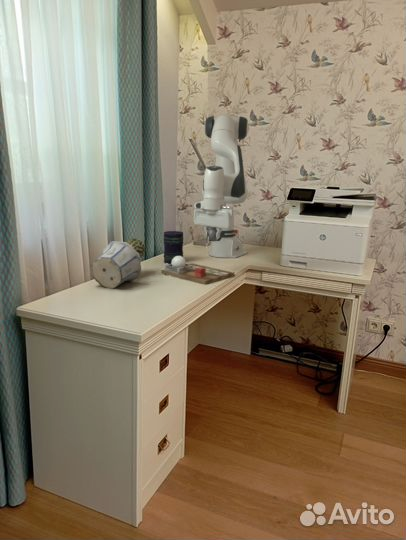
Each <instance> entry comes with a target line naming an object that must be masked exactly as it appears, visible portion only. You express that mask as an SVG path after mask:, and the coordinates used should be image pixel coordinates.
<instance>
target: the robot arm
mask: <svg viewBox="0 0 406 540" xmlns="http://www.w3.org/2000/svg"><path fill="white" fill-rule="evenodd" d="M203 128H204V129H203V130H204V133H205V136H206V137H207V138H209V139H210V145H211V147H210V148H211V149H212V151H213V152H214V153H215V164H214V165H210V166H207V167H206V168H205V171H204V178H203V180H202V188H201V197H202V199H203V200H201V201H199V202H198V201H197V202H195V203H194V205H193V207H194V210H193V223H194V225H196V226H202V227H203V229H204V231H205V237H208V238H209V229H210V228H209V227H217V228H216V229H217V233H216V234H215V238H217V241H210V248H209V251H208V253H209V256H211V257H215V258H223V259H225V258H231V259H232V258H233V259H235V258H236V259H237V258H238V257H241V256H244V255H247V254H248V251H246V250H244V245H243V242H242V241H241V240H240V239H239V238H238V237H237V236H236V234H239V230H238V229H234V225H235V224H234V223H235V215H234V210H233V208H232V207H231V206H226V204H231V205H238V204H243V203H245V201H246V200H247V198H248V194H249V193H248V189H247V181H246V178H245V170H244V160H243V154H242V153H243V152H242V149H241V146H240V145H239V144H238V142H239V143H240V142H241V141H242V140H244V139H246V138H247V136H248V134H249V131H250V123H249V120H248V119H247V117H244V116H235V115H227V114H222V115H218V116H214V115H211V116H208V117H206V119H205V122H204V125H203ZM237 141H238V142H237Z"/></svg>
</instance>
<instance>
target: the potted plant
mask: <svg viewBox="0 0 406 540" xmlns="http://www.w3.org/2000/svg"><path fill="white" fill-rule="evenodd" d="M145 252H146V244H145V243H144V242H143V240H141V239H138V238H136V237H131V239H127V240H126V242H125V241H111V242H109V243H108V244H107V245H106V247H104V248H103V249H102V254H101V255H99V256H98V257H97V258H96V259H95V260H94V261H93V263H92V264H91V265H90V267H91V273H92V275H91V276H92V278H93V279H94V281H96V282H97V283H98V285H100V286H102V287H103V288H105V287H106V289H115V288H117V287H118V286H120V285H121V284H122V283H124V282H133V281H135V279H136V278H137V277H138V276H139V275H140V274H141V272H142V265H141V264H142V262H141V258H142V257H143V256H144V255H145Z"/></svg>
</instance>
